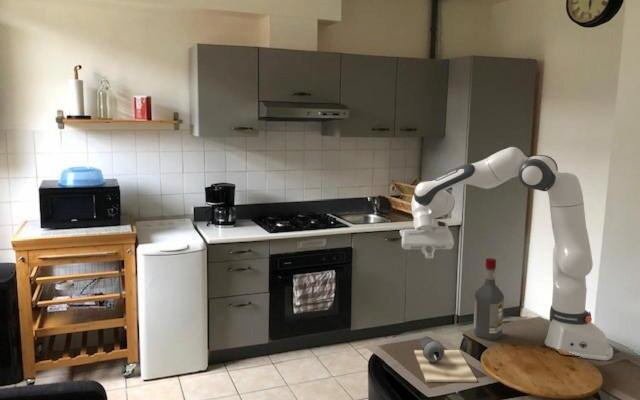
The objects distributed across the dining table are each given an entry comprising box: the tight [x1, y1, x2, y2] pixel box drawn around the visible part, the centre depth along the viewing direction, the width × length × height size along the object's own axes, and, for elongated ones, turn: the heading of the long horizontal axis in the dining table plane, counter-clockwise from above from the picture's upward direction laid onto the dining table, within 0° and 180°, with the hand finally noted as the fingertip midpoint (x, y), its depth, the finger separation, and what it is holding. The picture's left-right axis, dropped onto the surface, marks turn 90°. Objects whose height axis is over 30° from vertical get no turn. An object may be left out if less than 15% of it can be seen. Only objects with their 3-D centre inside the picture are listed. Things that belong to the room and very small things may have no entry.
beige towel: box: [413, 349, 478, 383], centre depth 185 cm, size 22×16×1 cm
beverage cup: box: [419, 335, 445, 362], centre depth 188 cm, size 7×7×20 cm
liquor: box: [473, 258, 505, 341], centre depth 208 cm, size 9×9×30 cm
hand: (429, 257), depth 211 cm, fingers closed
